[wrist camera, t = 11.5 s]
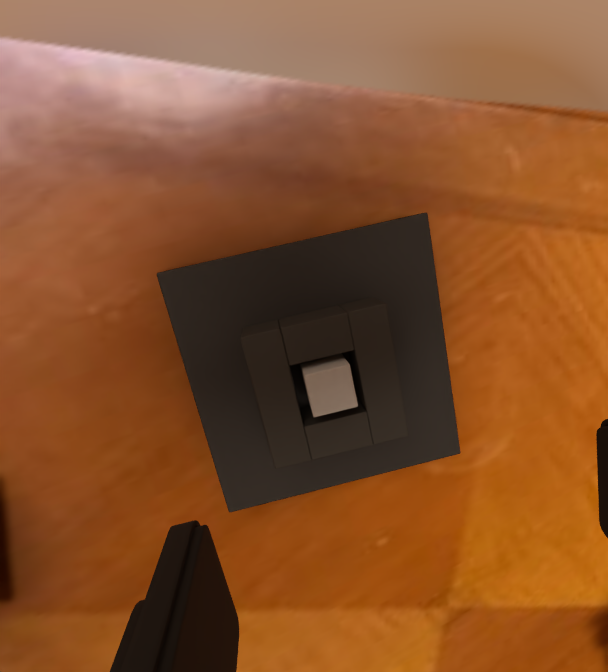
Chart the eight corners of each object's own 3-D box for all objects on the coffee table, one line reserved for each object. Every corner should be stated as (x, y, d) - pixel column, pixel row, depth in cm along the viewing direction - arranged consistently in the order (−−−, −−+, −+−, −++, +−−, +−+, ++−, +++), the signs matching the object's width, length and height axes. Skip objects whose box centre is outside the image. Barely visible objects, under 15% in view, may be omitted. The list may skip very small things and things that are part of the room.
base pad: (163, 271, 21) (136, 277, 16) (416, 214, 22) (455, 205, 17) (231, 497, 24) (223, 552, 20) (449, 441, 25) (489, 483, 20)
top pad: (242, 327, 20) (239, 337, 18) (372, 296, 21) (386, 302, 18) (273, 446, 22) (275, 469, 20) (394, 416, 22) (409, 436, 20)
